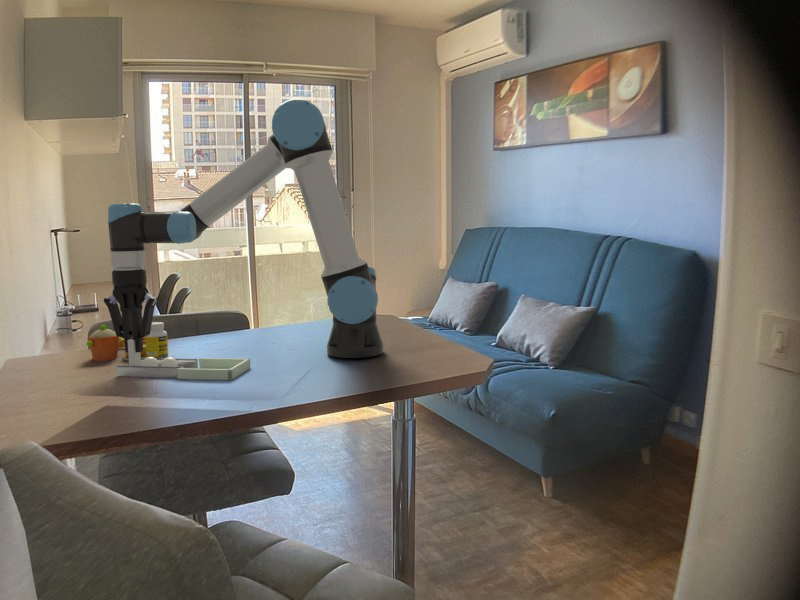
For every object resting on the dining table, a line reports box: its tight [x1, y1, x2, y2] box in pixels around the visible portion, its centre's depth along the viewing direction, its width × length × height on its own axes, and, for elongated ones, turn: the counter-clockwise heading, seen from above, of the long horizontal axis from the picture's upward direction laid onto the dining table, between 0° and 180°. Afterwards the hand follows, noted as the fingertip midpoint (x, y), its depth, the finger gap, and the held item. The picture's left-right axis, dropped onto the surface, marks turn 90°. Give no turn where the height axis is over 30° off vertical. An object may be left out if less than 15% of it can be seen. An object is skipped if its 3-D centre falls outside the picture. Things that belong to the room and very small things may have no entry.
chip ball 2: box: [161, 356, 178, 367], centre depth 153 cm, size 4×4×4 cm
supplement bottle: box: [145, 321, 169, 358], centre depth 167 cm, size 5×5×10 cm
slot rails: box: [116, 358, 199, 379], centre depth 153 cm, size 16×9×2 cm, turn 82°
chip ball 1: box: [142, 357, 159, 366], centre depth 153 cm, size 4×4×4 cm
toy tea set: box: [86, 324, 147, 362], centre depth 177 cm, size 26×16×10 cm, turn 13°
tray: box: [177, 357, 251, 381], centre depth 151 cm, size 13×12×2 cm
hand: (135, 365), depth 154 cm, fingers closed
